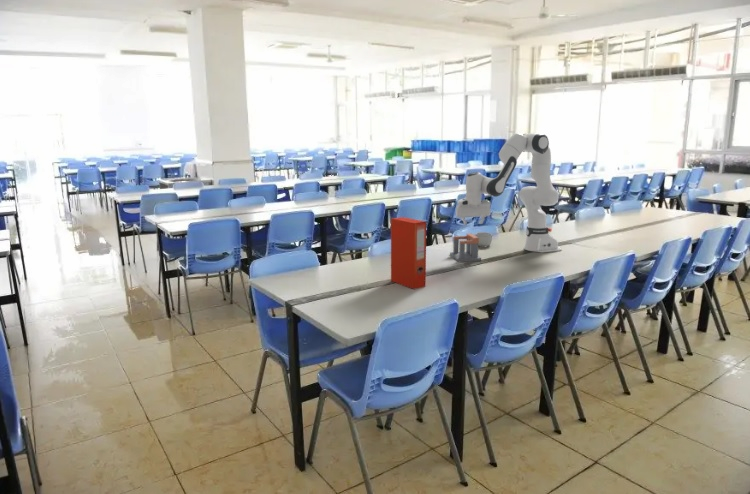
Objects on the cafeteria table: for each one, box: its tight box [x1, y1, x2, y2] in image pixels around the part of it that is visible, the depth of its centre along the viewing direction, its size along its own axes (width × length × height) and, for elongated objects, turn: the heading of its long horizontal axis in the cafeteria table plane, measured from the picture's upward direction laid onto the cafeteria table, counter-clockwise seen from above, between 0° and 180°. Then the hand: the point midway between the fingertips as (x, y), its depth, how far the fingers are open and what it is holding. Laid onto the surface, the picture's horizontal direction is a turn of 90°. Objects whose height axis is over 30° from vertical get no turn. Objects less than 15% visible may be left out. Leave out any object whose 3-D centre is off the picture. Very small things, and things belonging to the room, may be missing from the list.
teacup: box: [474, 231, 493, 247], centre depth 339 cm, size 14×11×8 cm
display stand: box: [449, 239, 482, 262], centre depth 308 cm, size 14×17×11 cm
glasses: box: [453, 232, 479, 245], centre depth 307 cm, size 11×14×3 cm
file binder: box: [390, 216, 427, 290], centre depth 255 cm, size 8×17×32 cm, turn 36°
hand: (473, 224), depth 306 cm, fingers open, 8 cm apart
